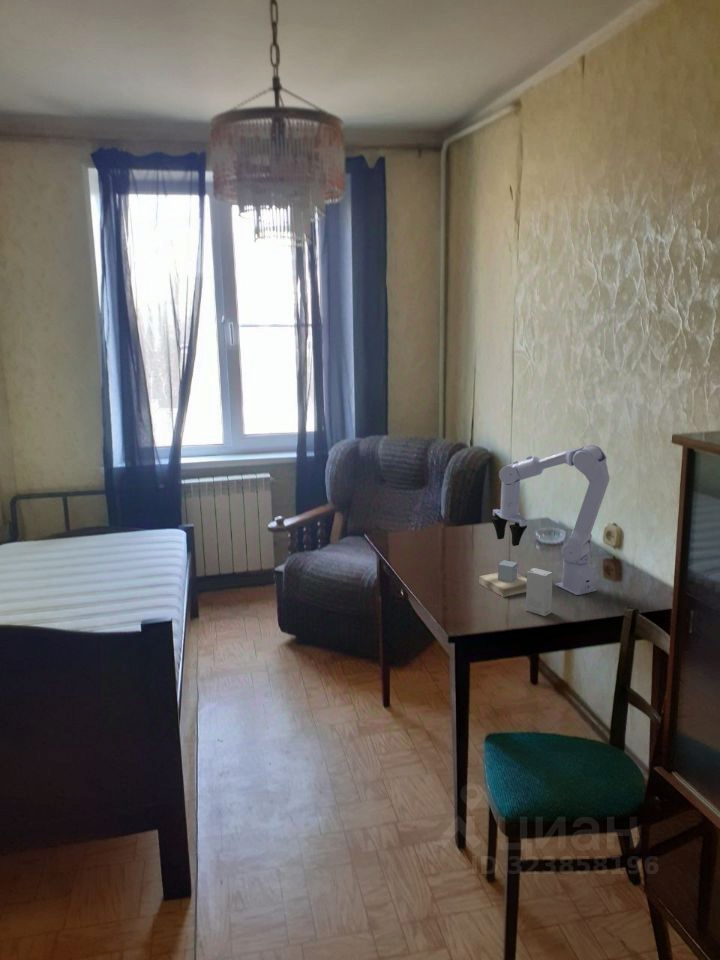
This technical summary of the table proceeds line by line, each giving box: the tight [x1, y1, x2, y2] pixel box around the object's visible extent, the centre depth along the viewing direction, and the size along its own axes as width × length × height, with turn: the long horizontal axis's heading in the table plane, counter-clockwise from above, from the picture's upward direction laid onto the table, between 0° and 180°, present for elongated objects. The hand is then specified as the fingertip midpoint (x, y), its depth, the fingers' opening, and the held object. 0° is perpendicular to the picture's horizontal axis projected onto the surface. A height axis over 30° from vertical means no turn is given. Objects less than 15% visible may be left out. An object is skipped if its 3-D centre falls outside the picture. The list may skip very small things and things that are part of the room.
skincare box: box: [525, 567, 554, 617], centre depth 195 cm, size 6×4×12 cm
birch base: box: [478, 572, 527, 598], centre depth 215 cm, size 12×12×2 cm
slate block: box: [497, 559, 519, 583], centre depth 214 cm, size 4×4×5 cm
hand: (507, 542), depth 225 cm, fingers open, 7 cm apart
